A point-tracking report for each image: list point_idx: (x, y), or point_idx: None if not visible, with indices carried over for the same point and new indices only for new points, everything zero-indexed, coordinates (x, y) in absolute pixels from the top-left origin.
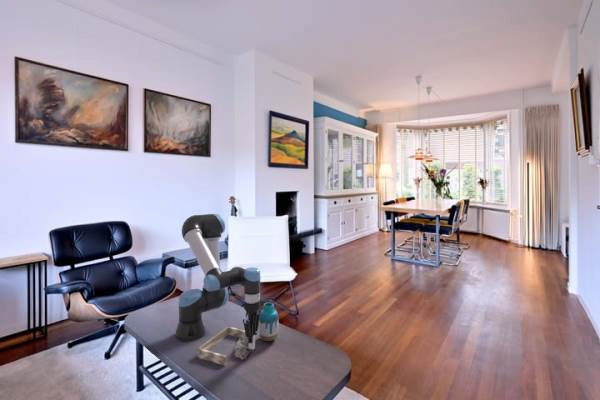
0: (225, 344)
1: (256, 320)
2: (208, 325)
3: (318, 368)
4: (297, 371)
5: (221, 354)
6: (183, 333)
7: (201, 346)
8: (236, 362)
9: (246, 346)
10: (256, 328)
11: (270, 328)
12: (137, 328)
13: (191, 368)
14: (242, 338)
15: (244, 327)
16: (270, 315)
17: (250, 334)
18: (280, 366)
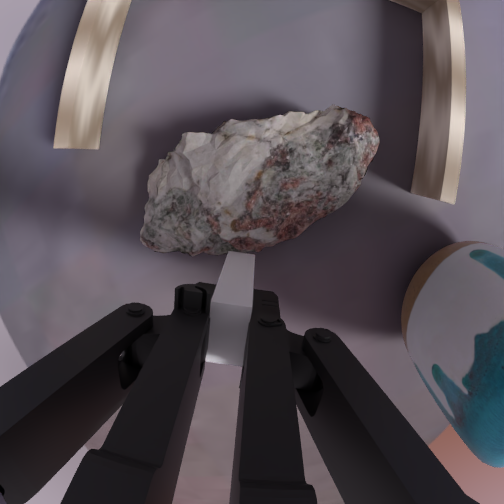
0: (312, 23)
1: (350, 480)
2: None
3: None
4: (192, 464)
5: (72, 101)
6: None
7: None
8: (131, 197)
9: (238, 228)
10: (298, 405)
11: (433, 393)
12: None
13: (47, 17)
14: (346, 141)
15: (14, 380)
16: (497, 461)
17: (127, 380)
18: (194, 421)
